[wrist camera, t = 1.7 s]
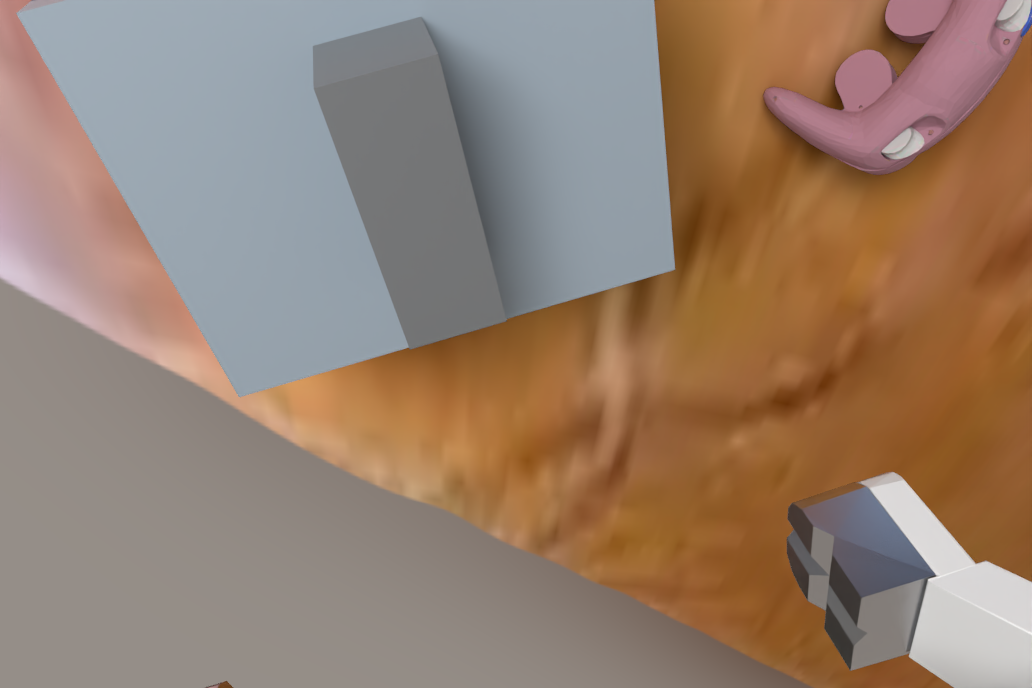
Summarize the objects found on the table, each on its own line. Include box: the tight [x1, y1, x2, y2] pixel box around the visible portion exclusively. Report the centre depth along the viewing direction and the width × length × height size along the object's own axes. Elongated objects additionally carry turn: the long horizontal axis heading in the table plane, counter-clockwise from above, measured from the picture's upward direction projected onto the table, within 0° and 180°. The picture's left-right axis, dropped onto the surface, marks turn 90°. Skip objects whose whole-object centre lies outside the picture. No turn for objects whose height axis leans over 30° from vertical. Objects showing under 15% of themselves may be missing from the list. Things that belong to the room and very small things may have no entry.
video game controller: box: [763, 0, 1032, 175], centre depth 32 cm, size 10×5×7 cm, turn 150°
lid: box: [16, 0, 675, 397], centre depth 23 cm, size 16×13×6 cm
